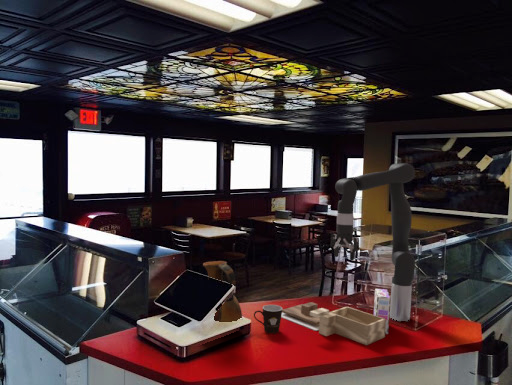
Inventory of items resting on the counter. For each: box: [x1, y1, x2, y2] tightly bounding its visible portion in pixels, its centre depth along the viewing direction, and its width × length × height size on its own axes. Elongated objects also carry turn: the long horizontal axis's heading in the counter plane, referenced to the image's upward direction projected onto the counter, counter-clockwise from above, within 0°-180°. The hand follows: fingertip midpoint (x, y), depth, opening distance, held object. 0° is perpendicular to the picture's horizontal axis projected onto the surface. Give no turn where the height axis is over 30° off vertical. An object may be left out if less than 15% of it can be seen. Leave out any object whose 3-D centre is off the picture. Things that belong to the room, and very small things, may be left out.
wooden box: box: [318, 306, 386, 346], centre depth 186 cm, size 20×20×8 cm
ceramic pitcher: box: [202, 260, 243, 322], centre depth 184 cm, size 20×20×30 cm
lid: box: [282, 301, 320, 325], centre depth 205 cm, size 15×21×6 cm
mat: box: [281, 313, 319, 332], centre depth 206 cm, size 20×25×1 cm
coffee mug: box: [253, 304, 283, 334], centre depth 188 cm, size 12×9×10 cm
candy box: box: [373, 288, 391, 335], centre depth 196 cm, size 14×6×16 cm, turn 168°
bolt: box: [310, 307, 330, 318], centre depth 183 cm, size 8×4×2 cm, turn 133°
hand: (344, 258), depth 198 cm, fingers open, 8 cm apart
